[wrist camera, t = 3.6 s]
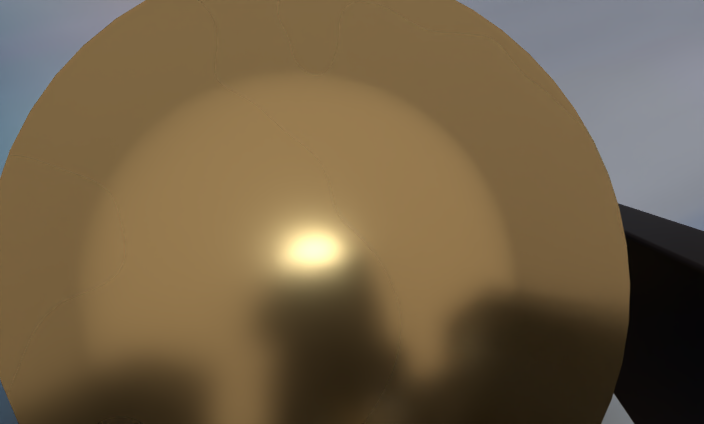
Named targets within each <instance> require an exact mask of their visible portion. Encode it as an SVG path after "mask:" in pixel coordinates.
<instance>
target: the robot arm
mask: <svg viewBox="0 0 704 424" xmlns="http://www.w3.org/2000/svg"><path fill="white" fill-rule="evenodd" d="M618 206H619V209H620V214H621V219H622V224H623V229H624V234H625V239H626V244H627V252H628V265H629V277H630V300H629V324H628V330H627V337H626V343H625V349H624V355H623V362H622V365H621V369H620V372H619V376H618V379H617V383H616V386H615V389H614V395H615V396H616V398H617V399H618V401H619V402H620V404H621V405H622V407H623V408H624V410H625V411H626V412H627V414H628V415H629V417H630V418H631V420H632V421H633V423H634V424H704V231H702V230H698V229H695V228H692V227H689V226H686V225H683V224H680V223H677V222H674V221H671V220H668V219H665V218H661V217H658V216H655V215H652V214H649V213H646V212H643V211H640V210H637V209H634V208H631V207H628V206H624V205H621V204H618Z"/></svg>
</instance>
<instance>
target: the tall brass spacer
mask: <svg viewBox="0 0 704 424" xmlns="http://www.w3.org/2000/svg"><path fill="white" fill-rule="evenodd" d="M629 300H630V277H629V265H628V252H627V244H626V239H625V234H624V229H623V224H622V219H621V214H620V209H619V206H618V203H617V200H616V196H615V193H614V190H613V187H612V184H611V181H610V178H609V175H608V172H607V170H606V168H605V166H604V163H603V161H602V159H601V157H600V154H599V152H598V150H597V148H596V145H595V143H594V141H593V139H592V137H591V136H590V134H589V132H588V131H587V129H586V127H585V126H584V124H583V122H582V120H581V119H580V117H579V115H578V114H577V112H576V110H575V109H574V107H573V106H572V105H571V103H570V102H569V101H568V99H567V98H566V97H565V95H564V94H563V92H562V91H561V90H560V88H559V87H558V86H557V84H556V83H555V82H554V80H553V79H552V78H551V77H550V76H549V75H548V74H547V73H546V72H545V71H544V70H543V68H542V67H541V66H540V65H539V64H538V63H537V62H536V61H535V60H534V59H533V58H532V57H531V55H530V54H529V53H527V52H526V51H525V50H524V49H523V48H522V47H521V46H519V45H518V44H517V43H516V42H515V41H514V40H513V39H511V38H510V37H509V36H508V35H507V34H506V33H505V32H503V31H502V30H501V29H499V28H498V27H497V26H495V25H494V24H492V23H491V22H489V21H488V20H487V19H485V18H484V17H482V16H481V15H479V14H478V13H476V12H475V11H474V10H472V9H470V8H469V7H467V6H465V5H463V4H461V3H459V2H458V1H456V0H145V1H144V2H142V3H141V4H139V5H137V6H136V7H134V8H133V9H131V10H129V11H128V12H126V13H125V14H123V15H121V16H120V17H118V18H116V19H115V20H114V21H113V22H111V23H110V24H109V25H108V26H107V27H105V28H104V29H103V30H102V31H100V32H99V33H98V34H97V35H96V36H94V37H93V38H92V39H91V40H89V41H88V42H87V43H86V44H85V45H84V46H83V47H82V48H81V49H80V50H79V51H78V52H77V53H76V54H75V55H74V56H73V57H72V58H71V59H70V60H69V62H68V63H67V64H66V65H65V66H64V67H63V68H62V69H61V70H60V71H59V72H58V73H57V74H56V75H55V77H54V78H53V80H52V81H51V82H50V84H49V85H48V87H47V88H46V90H45V91H44V92H43V94H42V95H41V97H40V98H39V99H38V101H37V102H36V104H35V105H34V107H33V108H32V109H31V111H30V113H29V115H28V116H27V118H26V120H25V122H24V124H23V126H22V128H21V130H20V132H19V134H18V136H17V138H16V140H15V142H14V144H13V146H12V147H11V149H10V152H9V155H8V158H7V160H6V163H5V166H4V169H3V172H2V175H1V178H0V379H1V383H2V385H3V387H4V390H5V392H6V395H7V397H8V399H9V402H10V404H11V406H12V409H13V411H14V414H15V416H16V418H17V421H18V423H19V424H601V423H602V421H603V418H604V416H605V414H606V411H607V409H608V407H609V405H610V402H611V400H612V396H613V393H614V389H615V386H616V383H617V379H618V376H619V372H620V369H621V365H622V362H623V355H624V349H625V343H626V337H627V330H628V324H629Z"/></svg>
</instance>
